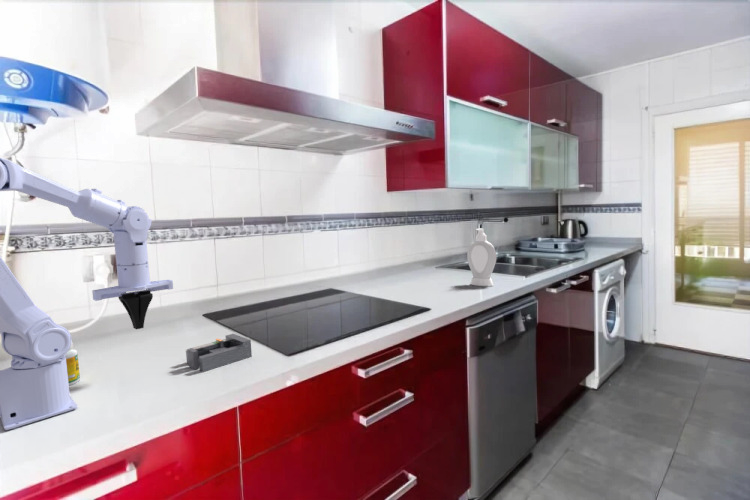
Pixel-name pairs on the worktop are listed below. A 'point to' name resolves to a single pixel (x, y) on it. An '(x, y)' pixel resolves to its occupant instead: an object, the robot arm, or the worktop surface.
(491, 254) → the soap bottle
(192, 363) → the grey hook
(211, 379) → the worktop surface
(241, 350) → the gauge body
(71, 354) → the supplement bottle
